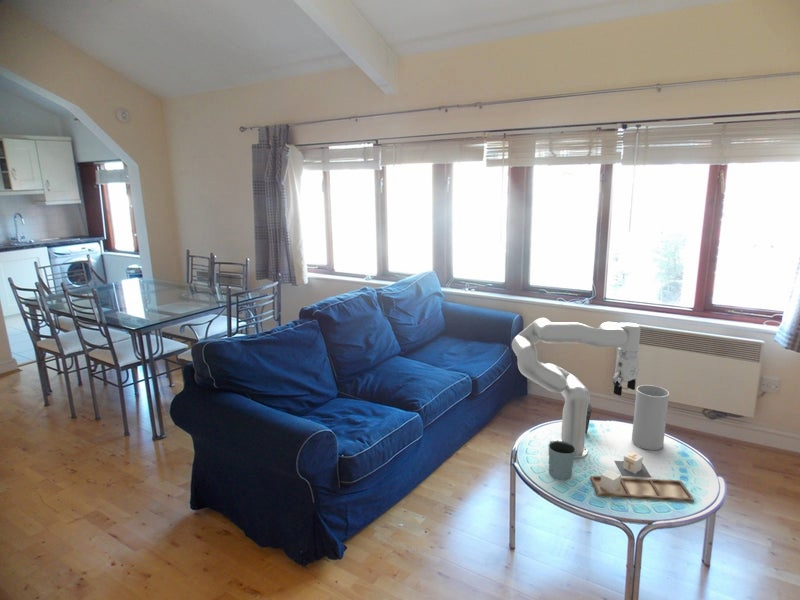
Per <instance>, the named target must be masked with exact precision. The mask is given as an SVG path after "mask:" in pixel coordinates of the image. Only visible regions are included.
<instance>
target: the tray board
mask: <svg viewBox="0 0 800 600" xmlns="http://www.w3.org/2000/svg"><path fill="white" fill-rule="evenodd" d="M589 479H590V481H591V483H592V486H593V488H594V491H595V493H596V496H597V497H601V498H602V497H605V498H620V499H621V498H622V499H636V500H638V499H640V500H652V501H653V500H655V501H657V500H658V501H671V502H672V501H673V502H689V503H694V502H695V498H694V497H693V496H692V494H691V493H690V491H689V490H688V489H687V487H686V486H685V484H684V483H683V482H682V480H679V479H678V480H677V479H676V480H675V479H674V480H672V479H660V478H658V479H655V478H654V479H653V478H643V477H624V476H621V479H620V488H619V489H618V490H617V491H615V492H614V493H611V492H609V491H607V490H605V489H603V488H601V487H600V483H601V475H590V477H589Z"/></svg>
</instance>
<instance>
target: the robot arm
mask: <svg viewBox="0 0 800 600" xmlns="http://www.w3.org/2000/svg"><path fill="white" fill-rule="evenodd" d="M641 329H642V328H641V326H640V325H639V324H638V323H635V322H624V323H622V322H621V323H620V322H613V321H606V322H603V323H601V324H600V325H598V327H592V326H590V325H587V324H584V323H581V322H574V321H570V322H565V321H564V322H563V321H562V322H555V321H553V322H552V321H551V320H549V319H548V318H546V317H540V318H537V319H535V320H534V321H533V322H532V323H530V324H529V325H527V327H525V328H524V329H523V330H522V331H520V332H519V333H518V334H517V335H516V336H514V338H513V339H512V342H511V348H512V350H513V352H514V354H515V356H516V358H517V367H518V368H517V369H518V370H519V372H520V373H521V375H523V376H524V377H525V378H527V379H529V380H531V381H532V382H534V383H535V384H538V386H540V387H542V388H544V389H545V390H547V391H549V392H551V393H554V394H555V393H556V394H558V393H560V394H561V395H562V397H564V405H563V409H562V419H561V434H560V435H561V437H559V439H558V440H556V441H563V442H567V443H570V444H572V445H573V446H574V447H575V449H576V452H575V457H574V460H577V459H583V458H585V457H587V456H588V453H589V451H588V449H587V447H586V446H585V441H586V434H585V430H586V415H587V408H588V404H589V403H590V397H591V395H590V393H589V390H588V388H587V386H585V385H584V383H583V382H581V380H579V378H578V377H577V376H575V375H573V374H572V373H570V372H569V371H567V370H565V369H564V368H561V367H560V366H558V365H556V364H554V363H552V362H551V363H550V362H548V363H547V362H546V363H544V362H541V361H539V360H538V349H537V347H536V344H538V343H539V342H542V343H545V344H579V345H584V346H590V347H598V348H618V350H617V359H616V364H615V372H614V375H612V383H613V394H614V395H617V396H619V397H620V396H622V393H623V386H622V385H623V384H624V383H626V384H627V385H626V386H627V387H626V388H627V389H629V390H633V391H634V390H635V389H636V384H637V382H636V381H637V379H638V377H639V372H640V367H639V366H640V365H639V363H640V362H639V360H640V359H639V347H640V339H641ZM553 441H554V440H549V444H550V443H551V442H553Z"/></svg>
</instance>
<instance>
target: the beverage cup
mask: <svg viewBox="0 0 800 600" xmlns="http://www.w3.org/2000/svg"><path fill="white" fill-rule="evenodd" d="M592 412H593V407H592V405H591V403H590V402H589V404H588V408H587V415H586V430H585V435H586V434H588V430H589V425H590V421H591V419H590V417H591V415H592Z"/></svg>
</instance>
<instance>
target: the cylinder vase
mask: <svg viewBox="0 0 800 600" xmlns="http://www.w3.org/2000/svg"><path fill="white" fill-rule="evenodd" d="M669 397H670V392H669V390H667V389H665V388H663V387H660V386H656V385H652V384H642V385H638V386H637V387H636V392H635V401H634V402H635V403H634V412H633V413H634V414H633V422H632V433H631V434H632V435H631V442H632V443H633V444H634V445H635V446H637V447H639V448H641V449H643V450H644V449H645V450H648V451H657V450H660V449H662V448H663V447H664V442H665V441H664V440H665V433H666V423H667V415H668V406H669Z"/></svg>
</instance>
